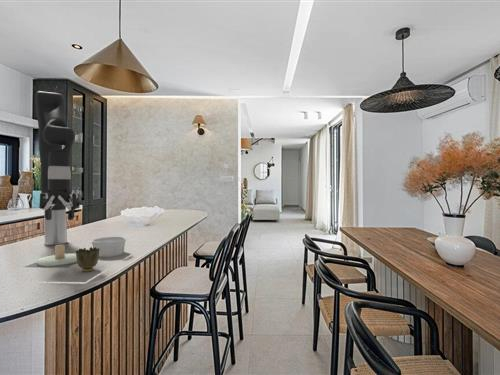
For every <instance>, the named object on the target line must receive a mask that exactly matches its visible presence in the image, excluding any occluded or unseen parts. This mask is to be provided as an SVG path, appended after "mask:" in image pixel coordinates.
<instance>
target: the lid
mask: <svg viewBox="0 0 500 375" xmlns="http://www.w3.org/2000/svg"><path fill="white" fill-rule="evenodd" d="M65 251H66V245H65V244H57V245H54V254H52V255H48V256H44V257H41V258H38V259H37V260H36V262H37V265H38V266H42V267H41V268H55V267H54V266H63V265H69V264H73V263H77V258H76V253H66V252H65ZM77 264H78V263H77Z"/></svg>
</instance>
